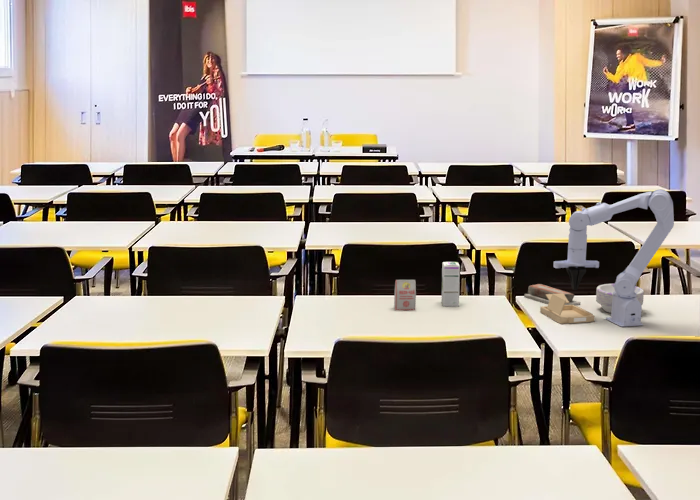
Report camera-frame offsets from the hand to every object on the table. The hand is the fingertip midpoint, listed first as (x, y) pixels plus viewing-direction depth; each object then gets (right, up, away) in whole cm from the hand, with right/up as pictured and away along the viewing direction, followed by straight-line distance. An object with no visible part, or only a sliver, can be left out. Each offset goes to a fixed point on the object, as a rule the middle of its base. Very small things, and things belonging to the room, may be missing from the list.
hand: (574, 289), depth 277 cm
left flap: (-8, -8, -3) cm, 11 cm away
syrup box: (-39, -6, +15) cm, 42 cm away
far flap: (-2, -5, +8) cm, 10 cm away
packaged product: (-2, -6, +22) cm, 23 cm away
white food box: (-55, -7, +9) cm, 56 cm away
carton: (-2, -9, +1) cm, 10 cm away
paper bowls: (+17, -8, +9) cm, 21 cm away
